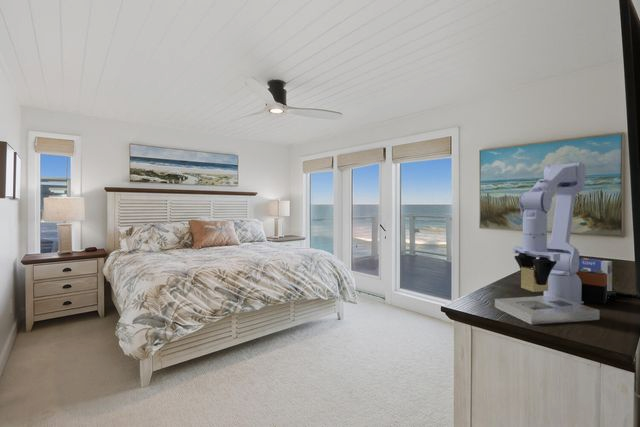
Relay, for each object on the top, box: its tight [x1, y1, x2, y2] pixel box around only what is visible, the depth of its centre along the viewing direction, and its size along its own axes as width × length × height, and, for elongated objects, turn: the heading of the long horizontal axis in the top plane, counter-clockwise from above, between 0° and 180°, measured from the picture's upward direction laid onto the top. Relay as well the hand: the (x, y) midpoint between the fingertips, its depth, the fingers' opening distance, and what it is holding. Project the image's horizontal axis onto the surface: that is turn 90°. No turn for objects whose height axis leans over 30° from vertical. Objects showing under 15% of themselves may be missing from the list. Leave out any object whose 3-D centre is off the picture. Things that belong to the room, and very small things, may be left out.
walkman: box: [579, 257, 613, 291], centre depth 107 cm, size 8×3×12 cm, turn 28°
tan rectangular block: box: [520, 266, 548, 293], centre depth 90 cm, size 4×4×6 cm
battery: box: [576, 269, 608, 305], centre depth 101 cm, size 4×7×10 cm, turn 39°
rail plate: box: [494, 295, 600, 325], centre depth 91 cm, size 20×14×3 cm
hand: (534, 282), depth 90 cm, fingers closed on tan rectangular block, 4 cm apart
